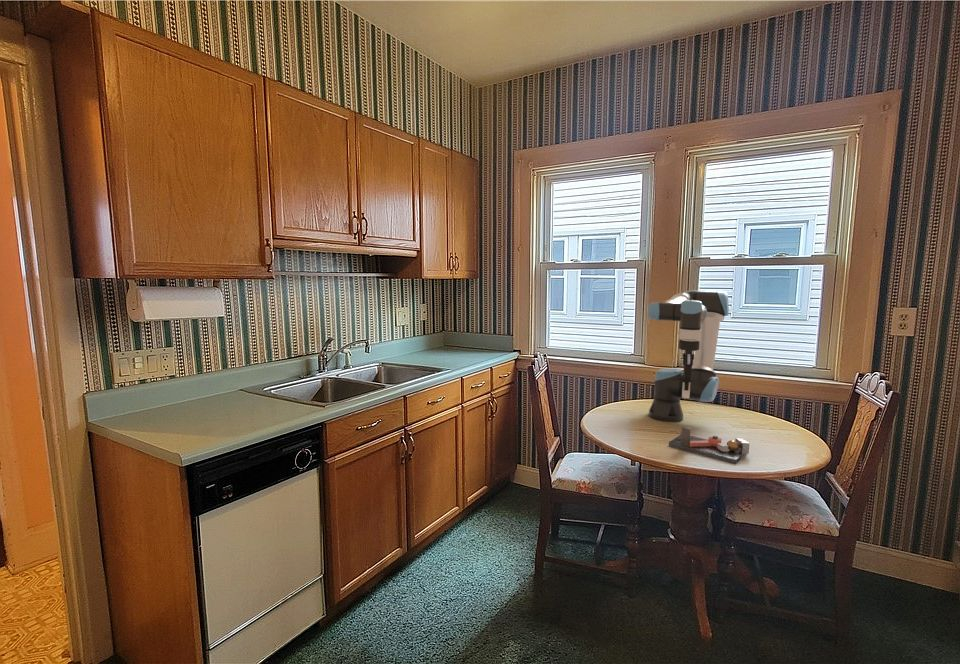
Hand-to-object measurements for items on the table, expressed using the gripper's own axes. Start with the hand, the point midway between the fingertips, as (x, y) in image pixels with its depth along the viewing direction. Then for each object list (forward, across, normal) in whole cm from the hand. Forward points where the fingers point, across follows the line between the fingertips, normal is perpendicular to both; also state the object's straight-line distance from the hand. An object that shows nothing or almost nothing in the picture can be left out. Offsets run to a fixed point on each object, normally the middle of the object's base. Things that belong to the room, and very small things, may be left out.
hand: (685, 397), depth 182 cm
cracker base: (+18, +6, +8) cm, 21 cm away
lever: (+16, +10, +7) cm, 20 cm away
